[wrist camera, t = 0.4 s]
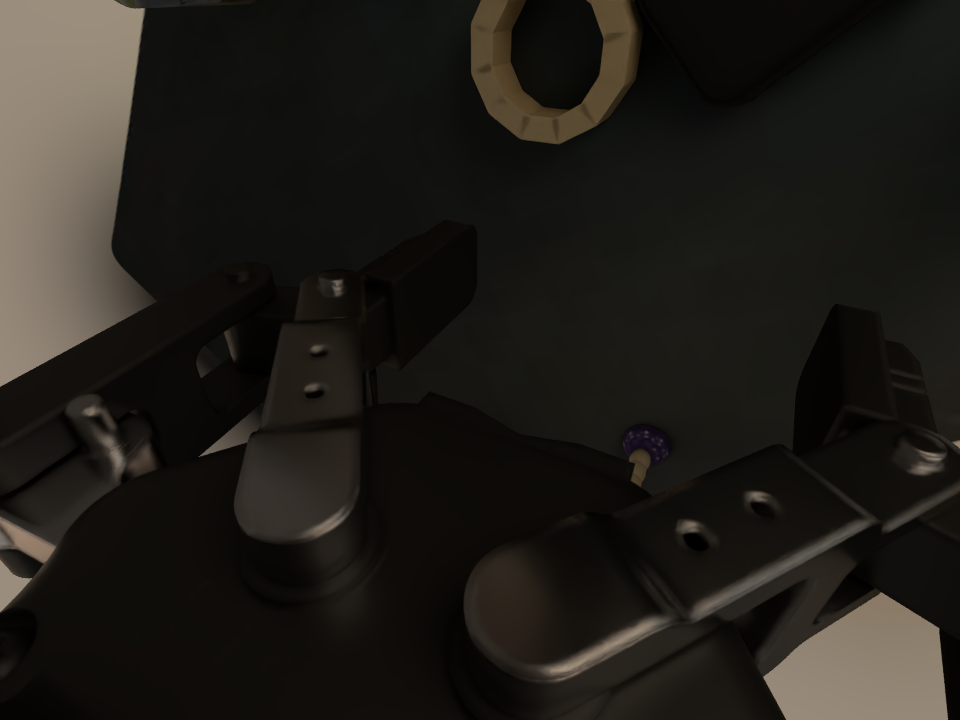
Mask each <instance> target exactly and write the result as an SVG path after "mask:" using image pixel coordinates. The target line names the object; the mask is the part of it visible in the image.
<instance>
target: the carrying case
mask: <svg viewBox="0 0 960 720" xmlns="http://www.w3.org/2000/svg"><path fill="white" fill-rule="evenodd" d="M888 1H889V0H639V5H640V8H641V11H642V13H643V14H644V16H645V17H646V19H647V20H648V22H649V23H650V25H651V26H652V28H653V29H654V31H655V32H656V34H657V35H658V37H659V38H660V39H661V41H662V42H663V44H664V45H665V47H666V48H667V50H668V51H669V53H670V54H671V56H672V57H673V59H674V60H675V62H676V63H677V65H678V66H679V68H680V69H681V71H682V72H683V73H684V75H685V76H686V78H687V79H688V81H689V82H690V84H691V85H692V87H693V88H694V90H695V91H696V93H697V94H698V96H699V97H700V98H701V99H702V100H704V101H705V102H706V103H708V104H710V105H713V106H716V107H722V108H729V107H735V106H739V105H742V104H744V103H746V102H748V101H752V100H753V99H755V98H756V97H757V96H758V95H759V94H761V93H762V92H763V91H765V90H766V89H768V88H769V87H770V86H772V85H773V84H774V83H776V82H777V81H779V80H780V79H781V78H783V77H784V76H786V75H787V74H788V73H790V72H791V71H792V70H794V69H795V68H797V67H798V66H799V65H801V64H802V63H804V62H805V61H806V60H808V59H809V58H810V57H812V56H813V55H815V54H816V53H817V52H819V51H820V50H821V49H823V48H824V47H826V46H827V45H828V44H830V43H831V42H833V41H834V40H835V39H837V38H838V37H839V36H841V35H842V34H844V33H845V32H846V31H848V30H849V29H850V28H852V27H853V26H855V25H856V24H857V23H859V22H860V21H862V20H863V19H864V18H866V17H867V16H868V15H870V14H871V13H873V12H874V11H875V10H877V9H878V8H879V7H881V6H882V5H884V4H885V3H886V2H888Z"/></svg>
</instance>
